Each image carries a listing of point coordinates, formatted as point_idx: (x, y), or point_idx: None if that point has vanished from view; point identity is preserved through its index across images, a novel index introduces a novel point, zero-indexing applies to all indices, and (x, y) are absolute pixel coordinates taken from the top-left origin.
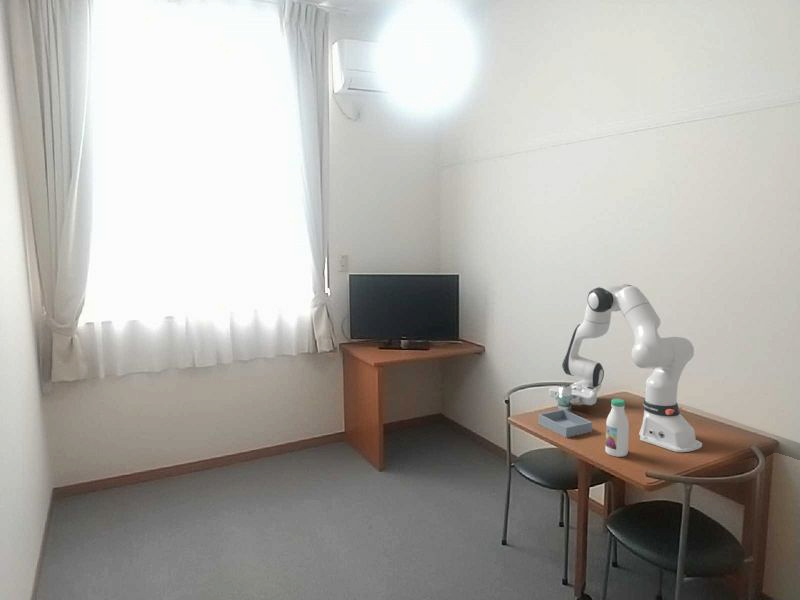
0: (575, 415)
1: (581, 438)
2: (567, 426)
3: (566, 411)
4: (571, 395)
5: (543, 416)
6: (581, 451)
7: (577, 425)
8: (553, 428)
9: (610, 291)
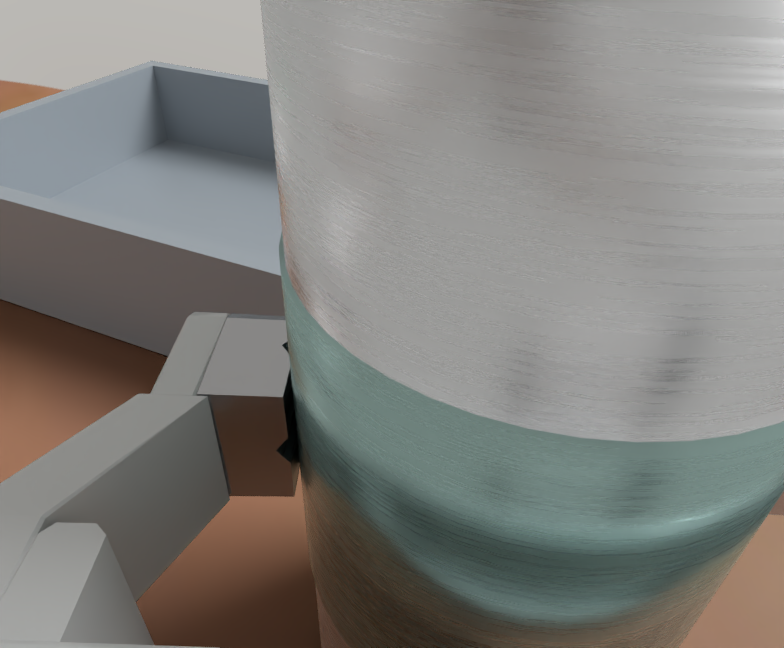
0: (102, 213)
1: None
2: (203, 232)
3: (274, 260)
4: (284, 300)
5: None
6: (42, 91)
7: (56, 94)
8: None
9: None
